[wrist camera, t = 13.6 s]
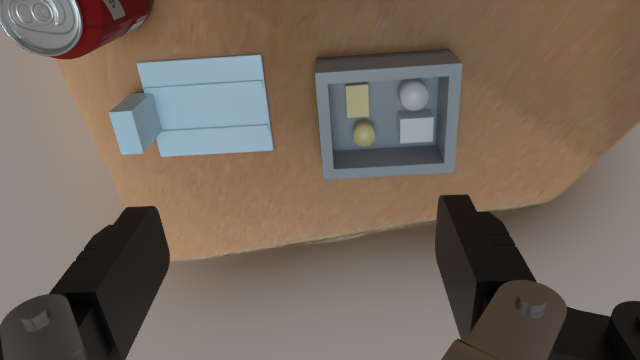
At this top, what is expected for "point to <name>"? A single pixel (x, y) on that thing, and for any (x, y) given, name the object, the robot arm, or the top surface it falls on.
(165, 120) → the lid
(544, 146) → the top surface
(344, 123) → the grey shallow tray
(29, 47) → the soda can
